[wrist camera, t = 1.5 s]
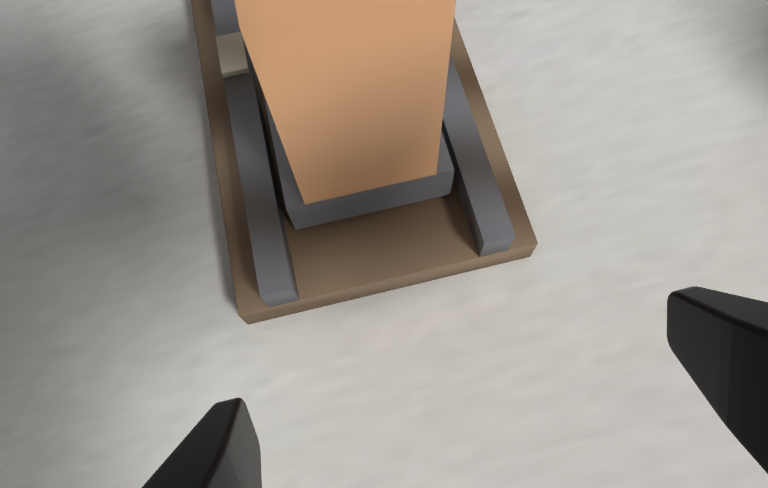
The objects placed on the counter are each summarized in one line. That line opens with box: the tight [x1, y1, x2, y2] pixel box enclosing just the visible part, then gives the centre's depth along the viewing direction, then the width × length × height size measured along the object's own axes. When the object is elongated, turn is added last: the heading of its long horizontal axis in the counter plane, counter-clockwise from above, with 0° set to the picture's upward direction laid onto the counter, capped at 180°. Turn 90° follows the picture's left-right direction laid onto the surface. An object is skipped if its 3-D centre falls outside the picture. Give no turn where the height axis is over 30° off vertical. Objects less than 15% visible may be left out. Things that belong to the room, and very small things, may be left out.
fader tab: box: [234, 0, 456, 230], centre depth 19 cm, size 6×6×11 cm
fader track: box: [191, 0, 538, 324], centre depth 25 cm, size 18×12×3 cm, turn 14°
